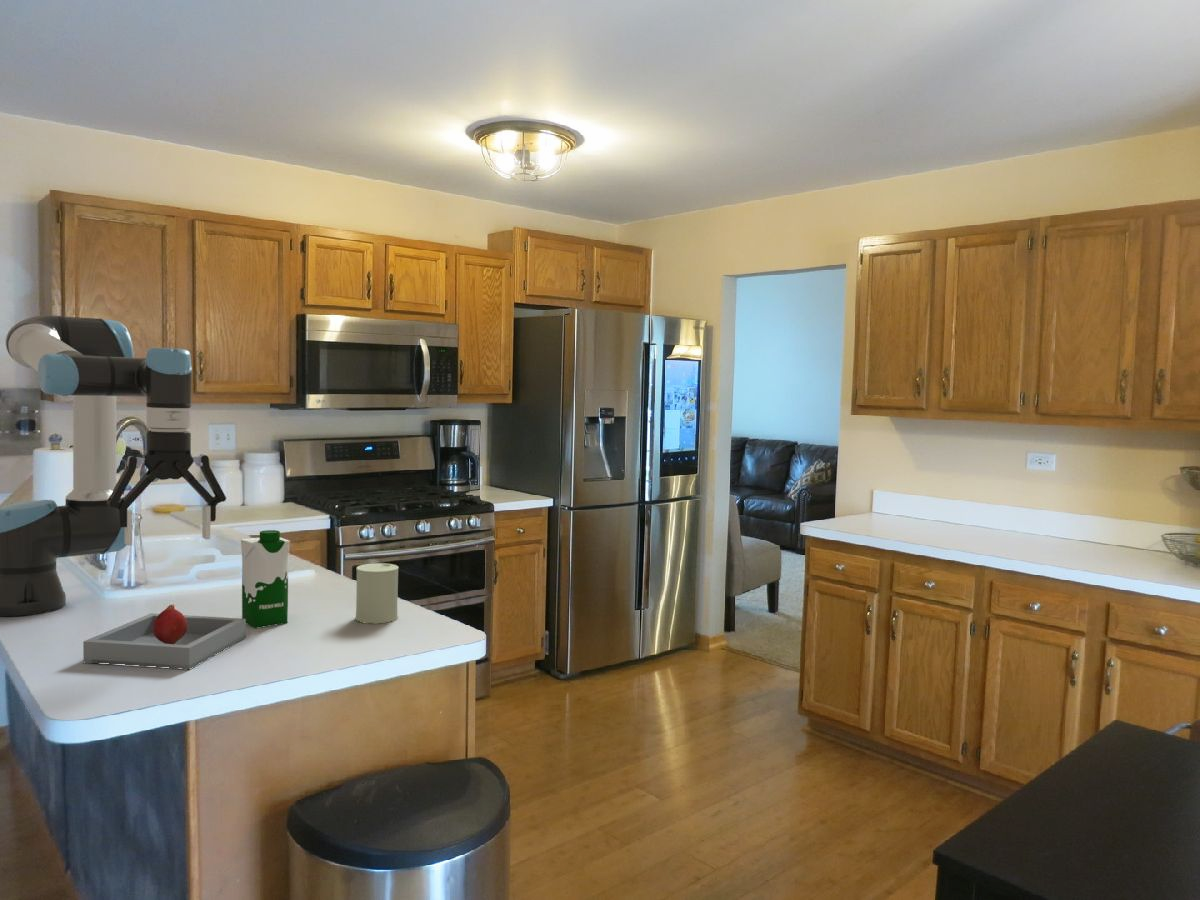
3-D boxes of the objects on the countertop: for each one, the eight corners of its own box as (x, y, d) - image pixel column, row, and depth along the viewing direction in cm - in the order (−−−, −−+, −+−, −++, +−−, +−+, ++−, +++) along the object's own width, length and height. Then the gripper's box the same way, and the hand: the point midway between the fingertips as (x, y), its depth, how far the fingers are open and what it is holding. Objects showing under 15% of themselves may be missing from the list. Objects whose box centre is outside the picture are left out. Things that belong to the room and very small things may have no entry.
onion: (152, 651, 158) (152, 609, 158) (153, 643, 164) (153, 602, 163) (187, 648, 161) (187, 606, 161) (186, 640, 166) (186, 599, 166)
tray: (83, 663, 153) (83, 641, 153) (151, 632, 173) (151, 613, 173) (189, 670, 151) (189, 647, 151) (245, 638, 171) (245, 618, 171)
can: (406, 616, 192) (407, 564, 191) (379, 626, 183) (380, 571, 183) (374, 611, 196) (374, 559, 195) (346, 620, 187) (347, 566, 186)
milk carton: (252, 630, 177) (253, 535, 176) (235, 620, 184) (236, 529, 182) (293, 623, 183) (294, 531, 182) (275, 614, 190) (276, 525, 188)
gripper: (96, 431, 150) (97, 550, 151) (243, 431, 166) (242, 538, 167) (89, 428, 156) (89, 543, 157) (231, 428, 172) (230, 533, 173)
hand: (168, 541), depth 162 cm, fingers open, 13 cm apart
